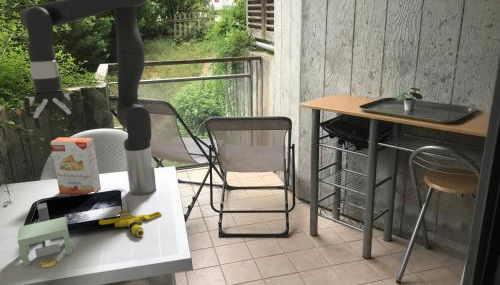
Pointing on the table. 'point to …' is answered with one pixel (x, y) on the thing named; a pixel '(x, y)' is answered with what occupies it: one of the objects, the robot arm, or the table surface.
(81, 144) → the cracker box
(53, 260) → the token
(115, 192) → the table surface
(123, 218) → the sprinkler
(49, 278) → the table surface
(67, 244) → the footstool
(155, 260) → the table surface
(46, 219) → the block
